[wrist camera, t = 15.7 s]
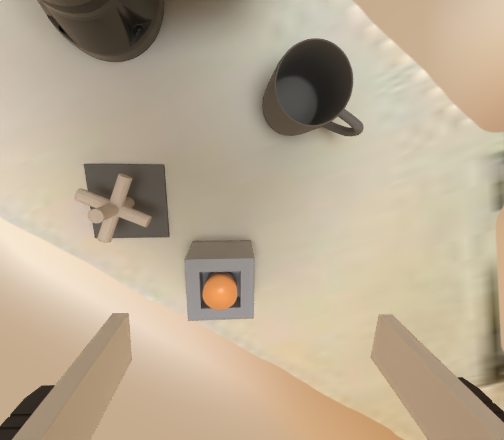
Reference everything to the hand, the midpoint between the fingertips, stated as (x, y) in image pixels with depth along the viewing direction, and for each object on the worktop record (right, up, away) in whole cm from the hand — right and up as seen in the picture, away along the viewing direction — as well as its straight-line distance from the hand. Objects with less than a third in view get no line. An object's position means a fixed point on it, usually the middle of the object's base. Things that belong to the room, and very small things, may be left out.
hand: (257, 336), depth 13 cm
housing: (-6, -2, +32) cm, 32 cm away
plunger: (-5, -4, +25) cm, 26 cm away
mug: (+8, +23, +27) cm, 36 cm away
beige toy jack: (-20, +9, +27) cm, 35 cm away
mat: (-20, +9, +28) cm, 36 cm away
